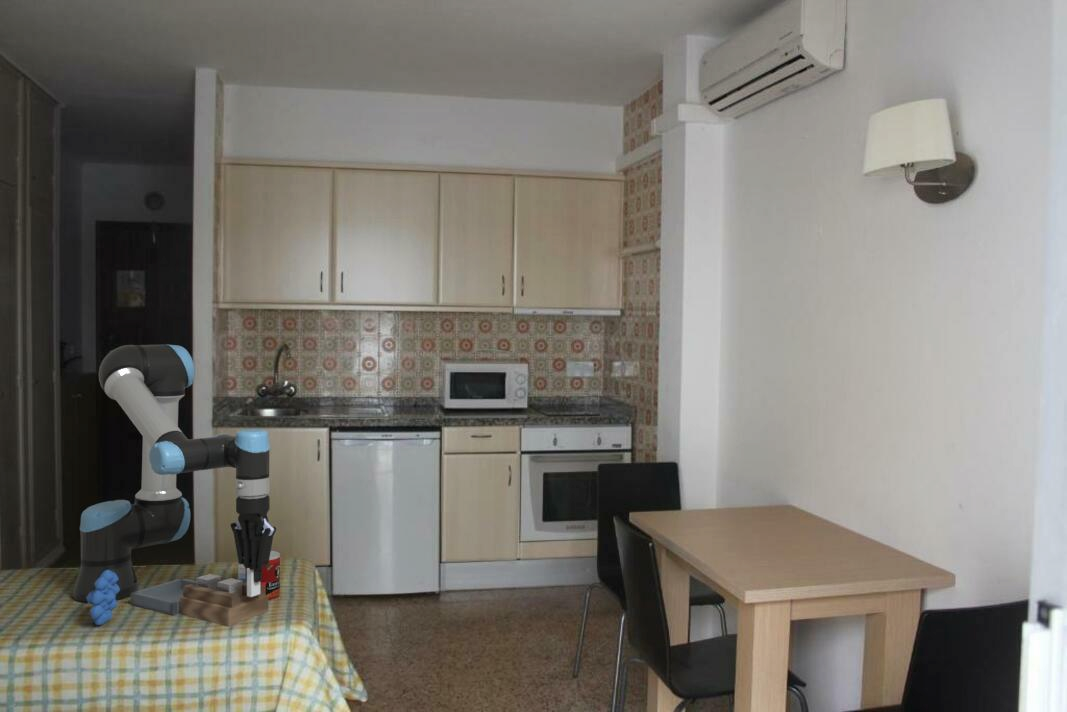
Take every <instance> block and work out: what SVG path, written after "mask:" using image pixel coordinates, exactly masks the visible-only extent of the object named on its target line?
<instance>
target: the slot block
mask: <svg viewBox="0 0 1067 712" xmlns="http://www.w3.org/2000/svg"><path fill="white" fill-rule="evenodd" d="M227 579H229V578H227V577H222V576H221V581H223V580H227ZM268 612H269V600H268V595H265V586H261V585H260V594H259V595H256V596H253V597H249V596H247V582H242V597H241V598H239V595H236V594H231V593H227V592H222V591H218V590H213V589H209V588H205V587H200V586H196V585H191V584H190V585H186V586H183V597H181V598H180V614H179V615H182V616H186V617H189V618H193V619H197V620H202V621H204V622H205V621H206V622H209V623H212V624H213V623H214V624H218V625H221V626H226V627H231V626H233V625H236V624H239V623H242V622H244V621H247V620H249V619H252V618H255V616H256V617H259V616H261V615H263V613H264V614H266V613H268Z"/></svg>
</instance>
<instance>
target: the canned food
mask: <svg viewBox="0 0 1067 712" xmlns="http://www.w3.org/2000/svg"><path fill="white" fill-rule="evenodd" d="M260 585H261V586H265V595H268V601H271V600H272V599H273V600H275V599H278V597H280V594H281V555H280V552H278V551H275V550H271V552H270V558H269V564H268V565H266V566H263V567H262V580H261V581H260ZM273 600H272V601H273Z"/></svg>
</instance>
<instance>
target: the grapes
mask: <svg viewBox="0 0 1067 712" xmlns="http://www.w3.org/2000/svg"><path fill="white" fill-rule="evenodd" d="M118 580H119V579H118V576H117V575H116V573H114V572H112V571H111V570H105V571H104V572H103V573H102V574H101V576H100V578H98V579H97V580H96V582H95V583H94V585H95V588H96V589H95V590H94V591H91V592H90V593H89V594H88V595H87V597H86V599H87V601H88V602H87V603H88V604H89V605H91V606H92V607H91V608H90V610H89V613H90V616H91V617H92V620H93V622H94V623H95V625H96V626H99V627H100V626H102V625H103V624H105V623H107V622H109V621H110V620H111V619H112V617H113V616H114V613H113V610H114V609H116V608H117V606H118V605H119V603H118V601H117V600H118V599H117V600H116V599H115V597H116V596H115V595H117V594H118V592H119V591H120V588H119V586H118V585H117V584H116V582H117V581H118Z"/></svg>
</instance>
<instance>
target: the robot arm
mask: <svg viewBox="0 0 1067 712" xmlns="http://www.w3.org/2000/svg"><path fill="white" fill-rule="evenodd" d="M195 374H196V371H195V364H194V360H193V358H192V356H191V354H190V353H189V351H188V350H187V349H186V348H185V347H183V346H181V345H176V344H168V343H166V344H139V345H138V344H137V345H136V344H135V345H134V344H127V345H125V344H124V345H122V346H118V347H117V348H114V349H113V350H111V351H109V353H107V354H106V355H105V357H104V358H103V360H102V361H101V364H100V365H99V368H98V381H99V383H100V384H99V385H100V387H101V388H102V390H103V392H104V393H105V395H107V397H109V398H110V399H111V400H114V401H116V402H117V403H118V405H119V406H120V408H121V409H122V410H123V412H124V413H125V414H126V415H127V417H128V419H129V420H130V421H131V422H132V424H133V425H134V426H135V428H136V429H137V431H139V433H140V434H141V436H142V453H141V454H142V455H141V456H142V460H141V462H142V463H141V489H139V490H138V492H137V493H136V494H135V495H134V503H132V504H131V502H130V501H129V500H125V499H115V500H107V501H103V502H100V503H96V504H94V505H90V506H88V507H86V509H84V510H83V511H82V513H81V514H80V515H81V516H80V525H79V531H80V569H79V571H78V575H77V577H76V580H75V584H74V586H73V599H74V600H75V601H76V602H82V603H88V601H87V599H86V597H87V595H88V594H89V593H90V592H91V591H94V590H95V589H96V588H95V585H94V583H95V582H96V580H97V579H98V578H100V576H101V574H102V573H103V572H104V571H105V570H111V571H112V572H114V573H116V575H117V576H118V579H119V580H118V581H117V582H116V584H117V585H118V586H119V588H120V591H119V592H118V594H117V595H115V596H116V597H115V599H116V600H120V599H121V600H122V599H125V598H128V597H131V593H132V592H136V591H139V590H140V589H139V588H140V587H139V579H138V577H137V574H136V571H135V569H134V566H133V563H132V550H134V549H140V548H144V547H149V546H155V545H161V544H163V545H164V544H167V543H169V542H173V541H178V540H180V539H181V538H183V536H184V535H186V533H187V531H188V530H189V527H190V523H191V509H190V503H189V502H188V500H187V499H186V498H184V497H183V494H182V492H181V491H180V490H179V489H178V488H177V475H179V474H184V473H191V472H197V471H207V470H208V471H209V470H214V469H222V468H233V469H235V489H236V492H235V493H236V496H237V497H236V499H235V511H236V514H238V517H237V521H235V522H231V523H230V529H231V531H232V533H233V538H234V544H235V549H236V554H237V555H236V556H237V560H238V561H237V563H238V562H239V564H243V565H244V567H245V570H246V581H247V596H249V597H253V596H256V595H259V594H260V581H261V580H262V567H263V566H266V565H268V564H269V558H270V552H271V551H272V545H273V540H274V535H275V534H276V532H277V528H276V526H272V525H270V523H269V518H268V513H269V511H270V508H271V506H270V503H271V501H270V500H271V499H270V496H269V494H270V491H271V490H270V489H271V488H270V486H271V485H270V449H271V446H270V439H269V435H270V434H269V433H268V431H267V430H265V429H256V428H255V429H254V428H253V429H249V428H248V429H242V430H238V431H237V432H236V433H235V435H231V434H227V433H225V434H215V435H213V436H211V437H203V438H202V437H201V438H190V439H188V437H187V436H186V435H185V434H184V433H183V431H182V430H181V429H180V427H179V401H180V400H181V399H182V398H183V397H185V394H186V390H185V389H187V388H189V387H191V386H192V384H193V383H194V382H193V381H194V380H195V376H196V375H195ZM243 557H244V558H243Z"/></svg>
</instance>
